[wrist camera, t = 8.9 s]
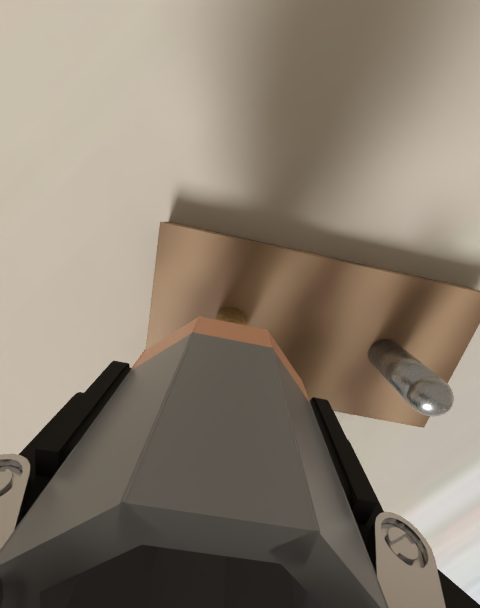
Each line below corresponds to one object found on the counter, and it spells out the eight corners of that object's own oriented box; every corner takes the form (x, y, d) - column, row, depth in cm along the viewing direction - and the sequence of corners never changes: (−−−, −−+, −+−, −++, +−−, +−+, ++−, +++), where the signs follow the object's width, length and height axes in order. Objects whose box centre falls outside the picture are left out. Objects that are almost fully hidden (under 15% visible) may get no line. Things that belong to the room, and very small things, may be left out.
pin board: (471, 288, 21) (494, 295, 19) (409, 411, 24) (423, 427, 22) (168, 221, 19) (160, 222, 17) (151, 362, 23) (142, 375, 21)
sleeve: (315, 338, 10) (447, 549, 4) (274, 462, 12) (313, 741, 6) (149, 305, 10) (-30, 478, 3) (134, 439, 12) (4, 712, 5)
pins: (404, 342, 20) (473, 393, 14) (392, 369, 21) (452, 429, 15) (218, 304, 19) (207, 341, 13) (212, 333, 20) (199, 382, 14)
